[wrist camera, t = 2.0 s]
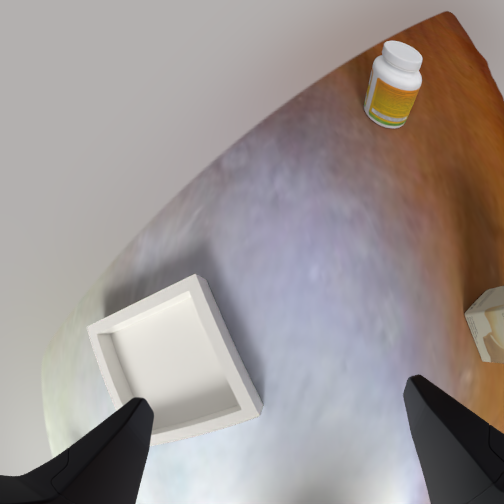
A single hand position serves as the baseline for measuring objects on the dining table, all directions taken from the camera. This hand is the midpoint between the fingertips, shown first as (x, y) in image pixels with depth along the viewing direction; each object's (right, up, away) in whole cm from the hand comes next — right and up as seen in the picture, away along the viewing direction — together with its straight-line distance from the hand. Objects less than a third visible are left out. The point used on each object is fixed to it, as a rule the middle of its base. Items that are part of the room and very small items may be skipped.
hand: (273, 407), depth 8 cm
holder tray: (-8, -5, +14) cm, 17 cm away
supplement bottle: (+15, +21, +19) cm, 32 cm away
